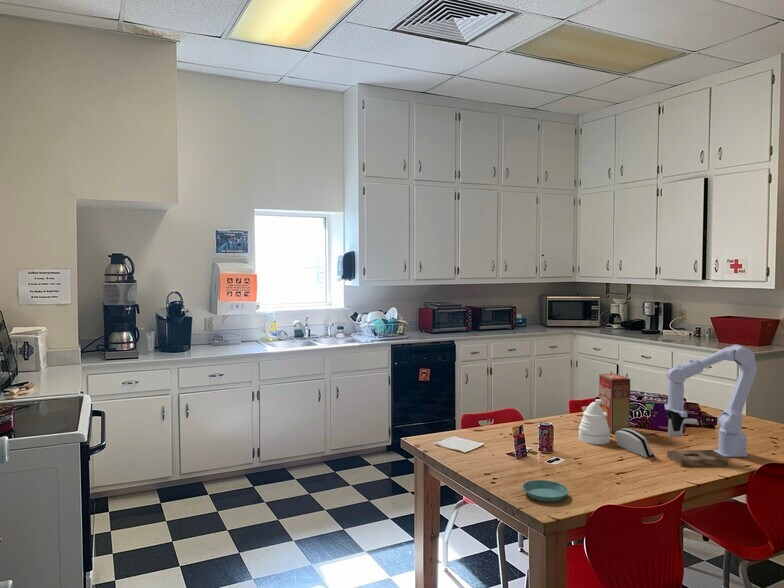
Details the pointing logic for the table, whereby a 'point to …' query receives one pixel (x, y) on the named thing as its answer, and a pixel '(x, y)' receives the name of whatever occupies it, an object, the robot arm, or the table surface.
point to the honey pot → (594, 425)
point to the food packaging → (615, 400)
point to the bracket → (679, 433)
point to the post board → (697, 458)
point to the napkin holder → (633, 442)
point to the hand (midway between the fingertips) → (675, 430)
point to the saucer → (545, 490)
